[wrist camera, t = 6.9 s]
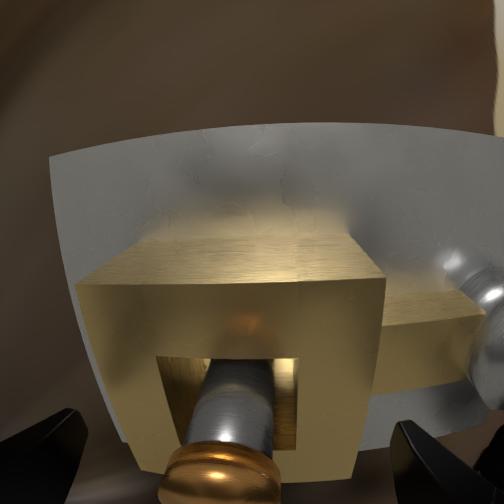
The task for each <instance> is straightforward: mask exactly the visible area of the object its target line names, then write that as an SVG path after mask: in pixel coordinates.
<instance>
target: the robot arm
mask: <svg viewBox="0 0 504 504" xmlns="http://www.w3.org/2000/svg"><path fill="white" fill-rule="evenodd" d="M87 437H88V428H87V426H86V424H85V422H84V420H83V418H82V415H81V413H80V412H79V411H78V410H75V409H71V408H65V409H63V410H61V411H60V412H58V413H56V414H54V415H52V416H50V417H48V418H46V419H44V420H43V421H41V422H39V423H37V424H35V425H33V426H31V427H29V428H27V429H25V430H23V431H21V432H19V433H17V434H15V435H13V436H11V437H9V438H7V439H6V440H3V441H1V442H0V504H64V503H65V501H66V498H67V496H68V493H69V491H70V488H71V486H72V483H73V481H74V478H75V476H76V473H77V470H78V467H79V464H80V460H81V457H82V453H83V450H84V447H85V444H86V440H87ZM390 454H391V461H392V468H393V476H394V484H395V491H396V496H397V501H398V504H504V426H503V427H502V428H501V429H500V430H499V432H498V434H497V435H496V437H495V439H494V441H493V442H492V444H491V446H490V448H489V449H488V451H487V453H486V454H485V456H484V458H483V459H482V461H481V463H480V464H479V466H478V467H477V469H476V470H473V469H472V468H471V467H470V466H468V465H467V464H466V463H464V462H463V461H462V460H461V459H459V458H458V457H457V456H456V455H454V454H453V453H452V452H451V451H449V450H448V449H447V448H446V447H445V446H443V445H442V444H441V443H440V442H438V441H437V440H436V439H435V438H433V437H432V436H431V435H430V434H428V433H427V432H426V431H425V430H424V429H422V428H421V427H420V426H419V425H417V424H416V423H415V422H414V421H412V420H403V421H398V422H397V423H396V424H395V427H394V430H393V433H392V436H391V439H390Z"/></svg>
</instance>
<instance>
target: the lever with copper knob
mask: <svg viewBox="0 0 504 504" xmlns="http://www.w3.org/2000/svg"><path fill="white" fill-rule="evenodd" d="M274 382H275V359H211V360H210V363H209V366H208V370H207V373H206V376H205V379H204V382H203V385H202V388H201V391H200V394H199V397H198V400H197V403H196V406H195V410H194V413H193V416H192V419H191V422H190V425H189V428H188V431H187V434H186V437H185V441H184V444H183V446H181V447H180V448H178V449H176V450H175V451H174V452H173V453H172V454H171V456H170V458H169V461H168V464H167V467H166V470H165V473H164V476H163V478H162V481H161V484H160V487H159V490H158V498H159V500H160V502H161V504H281V472H280V470H279V468H278V466H277V465H276V464H275V462H274V461H273V431H274Z"/></svg>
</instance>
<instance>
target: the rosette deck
mask: <svg viewBox="0 0 504 504" xmlns="http://www.w3.org/2000/svg"><path fill="white" fill-rule="evenodd" d="M49 164H50V176H51V186H52V195H53V203H54V211H55V218H56V225H57V231H58V237H59V243H60V248H61V254H62V259H63V264H64V268H65V273H66V278H67V282H68V286H69V291H70V295H71V299H72V303H73V307H74V310H75V314H76V318H77V321H78V325H79V328H80V332H81V335H82V338H83V342H84V345H85V348H86V351H87V354H88V357H89V360H90V363H91V366H92V369H93V372H94V374H95V377H96V380H97V383H98V385H99V388H100V391H101V393H102V396H103V398H104V401H105V403H106V406H107V408H108V411H109V413H110V415H111V418H112V420H113V422H114V425H115V427H116V429H117V431H118V434H119V436H120V438H121V440H122V442H126V443H128V444H129V446H130V448H131V451H132V453H133V455H134V457H135V459H136V461H137V463H138V465H139V467H140V469H141V470H143V471H148V472H154V473H159V474H164V473H165V470H166V467H167V464H168V461H169V458H170V456H171V454H172V453H173V452H174V451H175V450H176V449H178V448H180V447H181V446H183V444H184V441H185V437H186V434H187V431H188V428H189V425H190V422H191V419H192V416H193V413H194V410H195V406H196V403H197V400H198V397H199V394H200V391H201V388H202V385H203V382H204V379H205V376H206V373H207V370H208V366H209V363H210V360H211V359H275V382H274V431H273V461H274V462H275V464H276V465H277V466H278V468H279V470H280V472H281V483H297V482H316V481H330V480H340V479H349V478H351V476H352V472H353V469H354V465H355V461H356V457H357V454H358V451H363V450H370V449H377V448H384V447H390V439H391V436H392V433H393V430H394V427H395V424H396V423H397V422H398V421H403V420H412V421H414V422H415V423H416V424H417V425H419V426H420V427H421V428H422V429H424V430H425V431H426V432H427V433H428V434H430V435H431V436H432V437H433V438H435V437H439V436H443V435H447V434H451V433H455V432H458V431H462V430H465V429H469V428H472V427H475V426H479V425H482V424H483V423H484V421H485V419H486V417H487V415H488V413H489V411H490V409H493V410H504V138H502V137H497V136H491V135H485V134H478V133H471V132H464V131H457V130H448V129H439V128H430V127H419V126H406V125H391V124H370V123H283V124H262V125H247V126H233V127H222V128H211V129H202V130H193V131H185V132H177V133H169V134H162V135H156V136H149V137H143V138H137V139H131V140H125V141H120V142H114V143H109V144H104V145H99V146H94V147H90V148H85V149H80V150H76V151H72V152H67V153H63V154H59V155H55V156H51V157H49Z"/></svg>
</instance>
